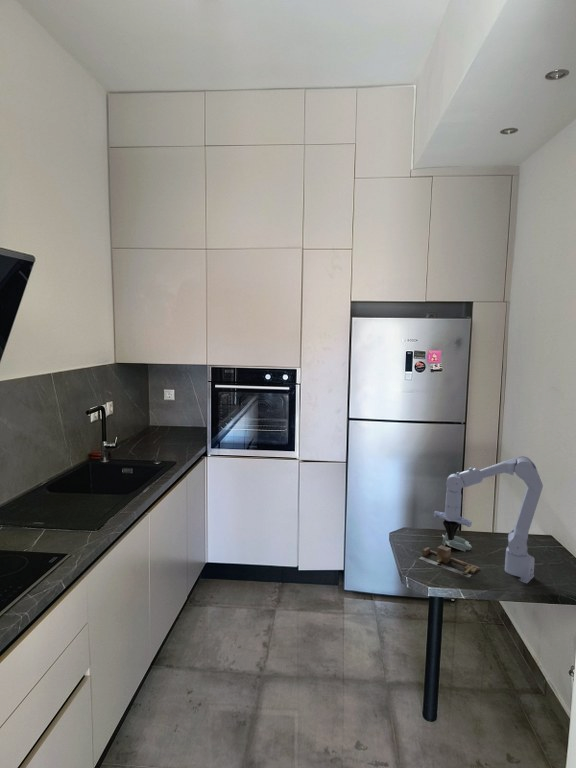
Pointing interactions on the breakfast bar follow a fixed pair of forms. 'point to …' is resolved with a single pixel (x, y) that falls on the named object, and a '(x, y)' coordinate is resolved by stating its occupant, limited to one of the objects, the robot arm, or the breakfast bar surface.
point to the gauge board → (467, 569)
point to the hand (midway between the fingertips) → (450, 539)
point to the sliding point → (443, 554)
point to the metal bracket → (456, 543)
